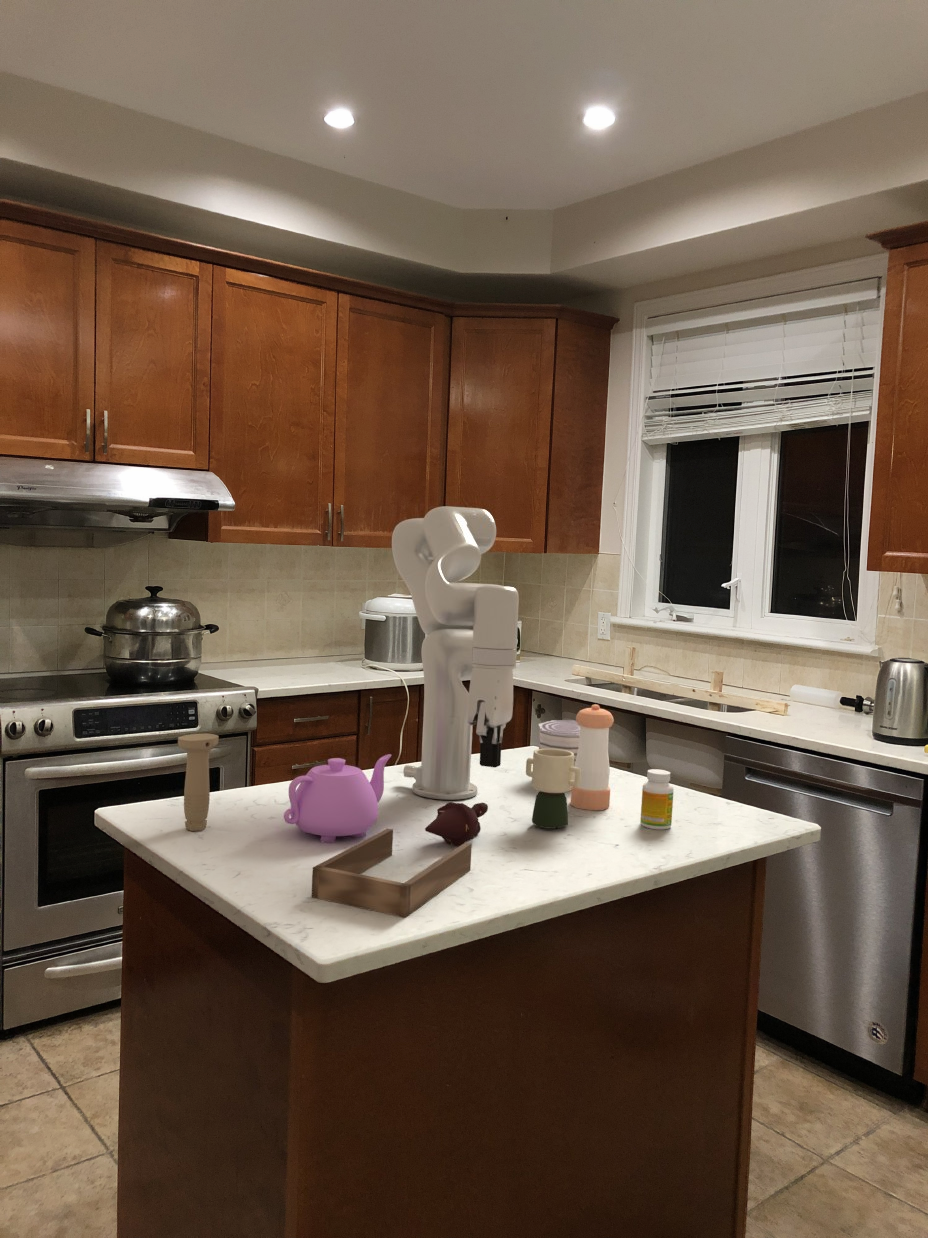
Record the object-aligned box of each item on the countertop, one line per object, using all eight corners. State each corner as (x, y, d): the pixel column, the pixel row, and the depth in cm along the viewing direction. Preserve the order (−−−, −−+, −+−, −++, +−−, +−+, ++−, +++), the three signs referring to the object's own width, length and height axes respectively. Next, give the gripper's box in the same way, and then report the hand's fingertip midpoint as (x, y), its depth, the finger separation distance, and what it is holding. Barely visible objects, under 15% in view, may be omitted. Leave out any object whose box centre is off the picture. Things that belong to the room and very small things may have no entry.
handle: (169, 829, 153) (172, 737, 152) (203, 822, 158) (206, 732, 157) (187, 836, 150) (190, 742, 149) (221, 828, 155) (224, 737, 154)
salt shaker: (609, 802, 184) (615, 703, 182) (608, 812, 177) (614, 709, 175) (571, 798, 185) (577, 700, 184) (569, 808, 178) (575, 706, 176)
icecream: (450, 819, 144) (506, 809, 156) (415, 798, 148) (472, 790, 160) (437, 861, 145) (493, 848, 157) (402, 838, 149) (460, 827, 161)
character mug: (587, 829, 165) (592, 755, 164) (565, 838, 159) (570, 761, 158) (534, 816, 171) (538, 744, 170) (512, 824, 166) (516, 750, 165)
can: (601, 782, 199) (604, 725, 199) (572, 792, 191) (575, 732, 190) (554, 772, 206) (557, 717, 206) (524, 781, 198) (528, 723, 197)
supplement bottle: (671, 831, 166) (674, 776, 165) (639, 828, 167) (643, 773, 166) (671, 823, 171) (674, 769, 170) (640, 820, 172) (643, 767, 171)
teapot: (365, 813, 168) (368, 745, 167) (413, 834, 157) (416, 761, 156) (262, 830, 155) (265, 756, 155) (307, 854, 145) (310, 774, 144)
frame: (311, 897, 127) (312, 867, 127) (386, 854, 146) (387, 828, 146) (405, 917, 121) (407, 887, 121) (470, 870, 141) (471, 843, 140)
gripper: (490, 654, 171) (486, 756, 171) (456, 659, 157) (452, 771, 158) (529, 657, 168) (525, 761, 168) (498, 663, 154) (494, 776, 155)
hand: (490, 765), depth 163 cm, fingers closed
